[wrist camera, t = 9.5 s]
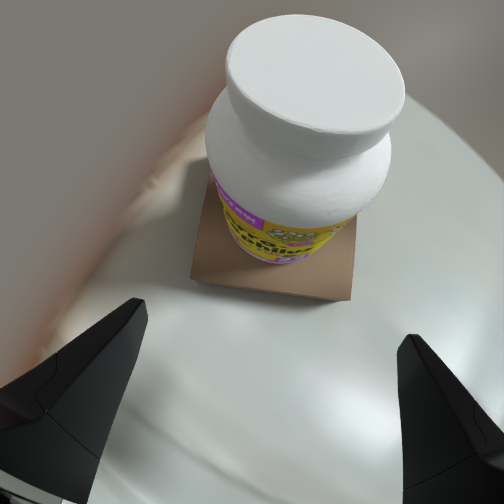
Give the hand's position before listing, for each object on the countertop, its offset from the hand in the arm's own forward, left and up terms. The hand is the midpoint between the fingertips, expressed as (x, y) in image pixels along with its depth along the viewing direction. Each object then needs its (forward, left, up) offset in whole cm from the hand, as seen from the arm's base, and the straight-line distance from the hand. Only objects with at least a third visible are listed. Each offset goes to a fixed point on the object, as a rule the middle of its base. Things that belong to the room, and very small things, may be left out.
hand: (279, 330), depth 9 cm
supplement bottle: (+4, +5, -9) cm, 11 cm away
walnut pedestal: (+4, +5, -11) cm, 13 cm away
